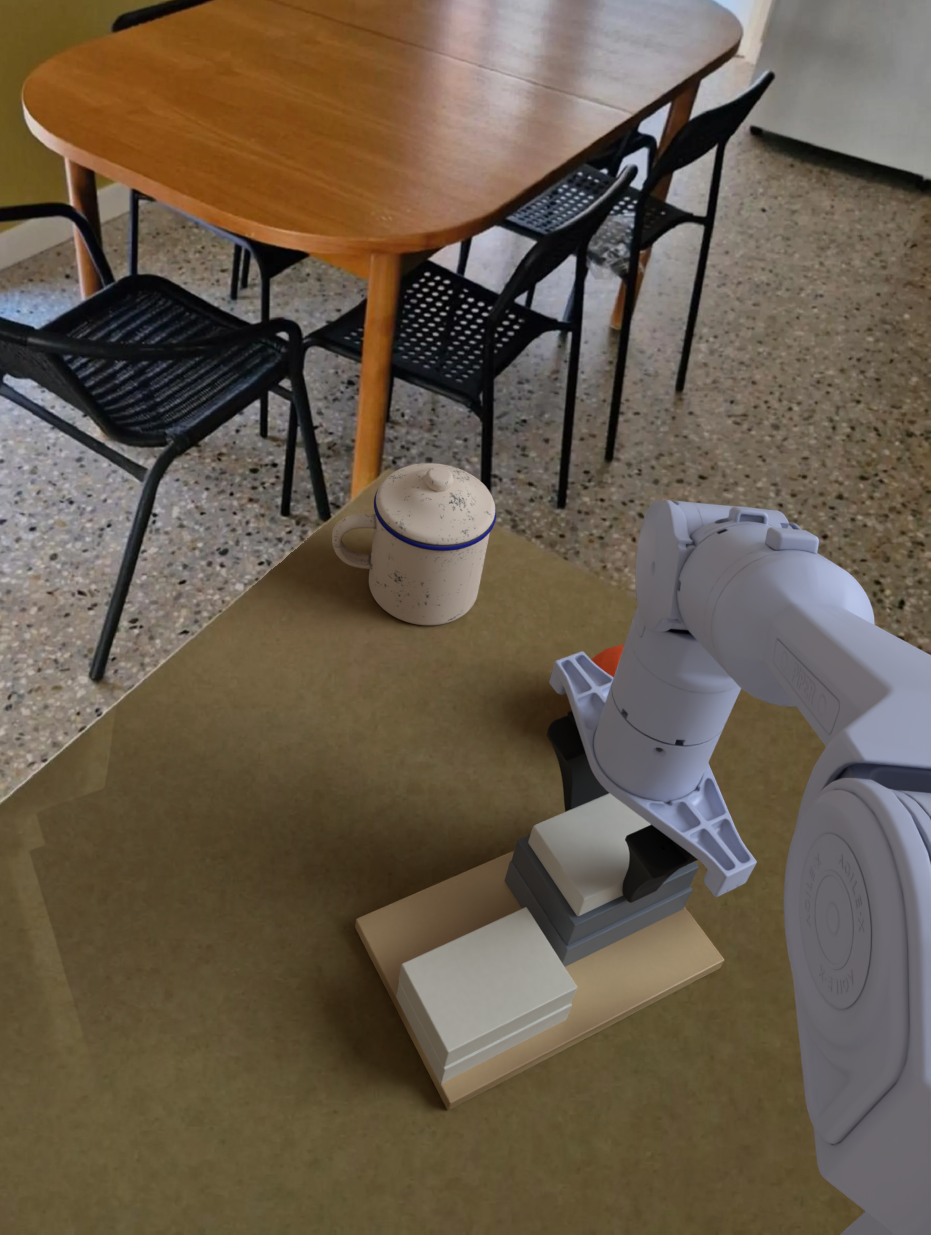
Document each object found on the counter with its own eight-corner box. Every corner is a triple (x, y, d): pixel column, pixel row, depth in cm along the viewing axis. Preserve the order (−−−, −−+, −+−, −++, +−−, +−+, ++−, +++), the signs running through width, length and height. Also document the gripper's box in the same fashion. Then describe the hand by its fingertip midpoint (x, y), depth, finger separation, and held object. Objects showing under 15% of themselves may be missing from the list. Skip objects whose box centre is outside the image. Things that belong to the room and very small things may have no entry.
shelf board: (720, 968, 65) (725, 959, 64) (447, 1111, 58) (449, 1103, 57) (608, 816, 72) (611, 807, 72) (354, 927, 65) (355, 918, 65)
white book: (691, 864, 64) (699, 846, 63) (577, 917, 61) (583, 900, 60) (637, 795, 67) (644, 777, 66) (527, 842, 64) (532, 824, 63)
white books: (566, 1020, 61) (579, 988, 59) (440, 1084, 58) (448, 1054, 56) (516, 938, 64) (526, 905, 62) (394, 995, 61) (401, 963, 59)
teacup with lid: (472, 548, 91) (492, 436, 84) (488, 631, 84) (512, 517, 77) (326, 545, 90) (334, 432, 83) (330, 629, 83) (339, 513, 76)
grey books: (683, 908, 67) (703, 869, 64) (560, 969, 63) (575, 930, 60) (623, 827, 71) (639, 786, 68) (503, 880, 67) (515, 839, 64)
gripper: (834, 786, 52) (749, 934, 60) (642, 581, 62) (593, 733, 70) (718, 840, 49) (646, 987, 58) (537, 617, 59) (498, 770, 68)
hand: (610, 850), depth 64 cm, fingers closed on white book, 5 cm apart
